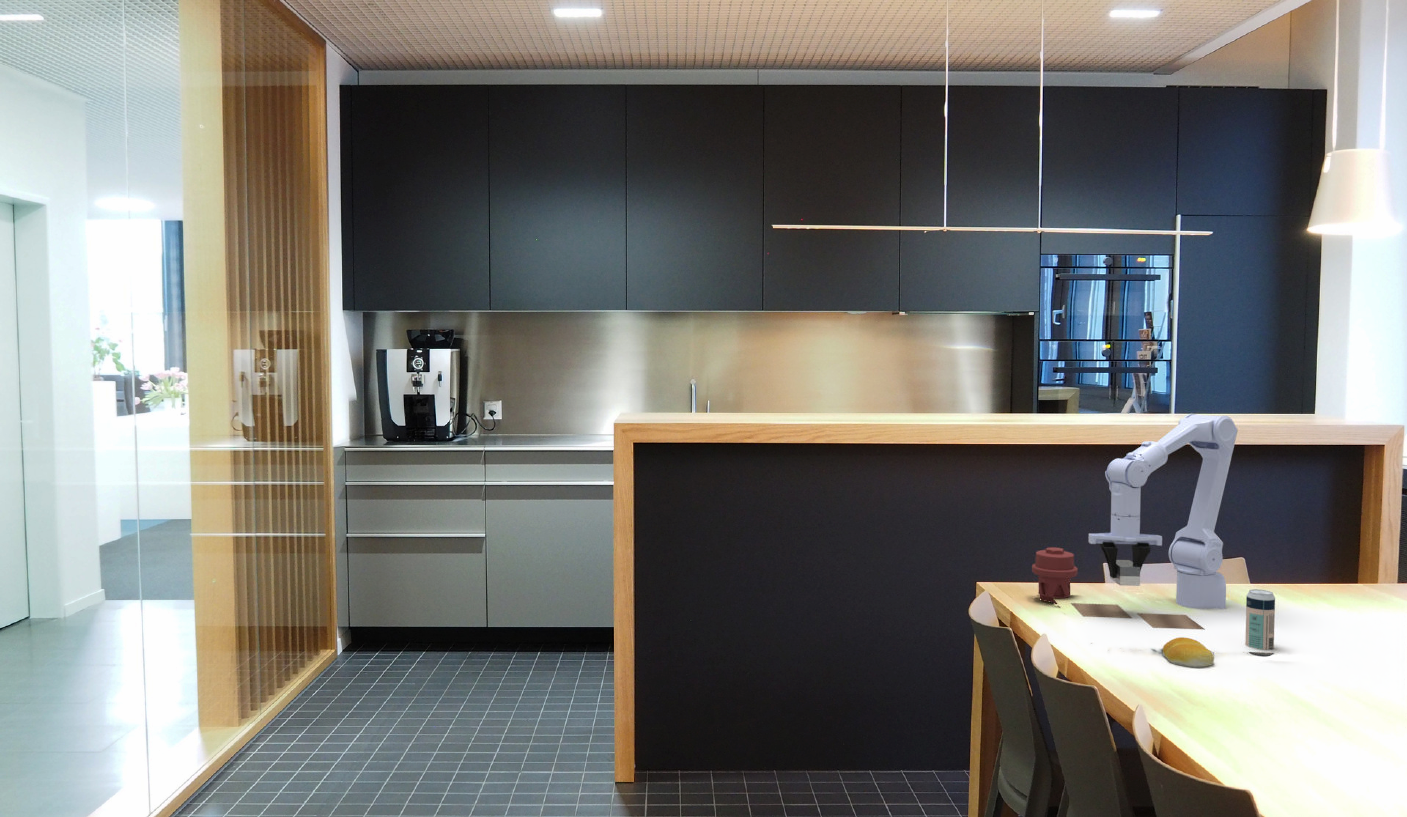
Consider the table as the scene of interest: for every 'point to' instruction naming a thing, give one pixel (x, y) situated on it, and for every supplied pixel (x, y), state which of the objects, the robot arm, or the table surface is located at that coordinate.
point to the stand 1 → (1101, 610)
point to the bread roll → (1187, 653)
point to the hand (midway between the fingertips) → (1124, 577)
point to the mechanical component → (1054, 573)
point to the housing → (1127, 573)
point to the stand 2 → (1170, 621)
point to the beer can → (1260, 621)
